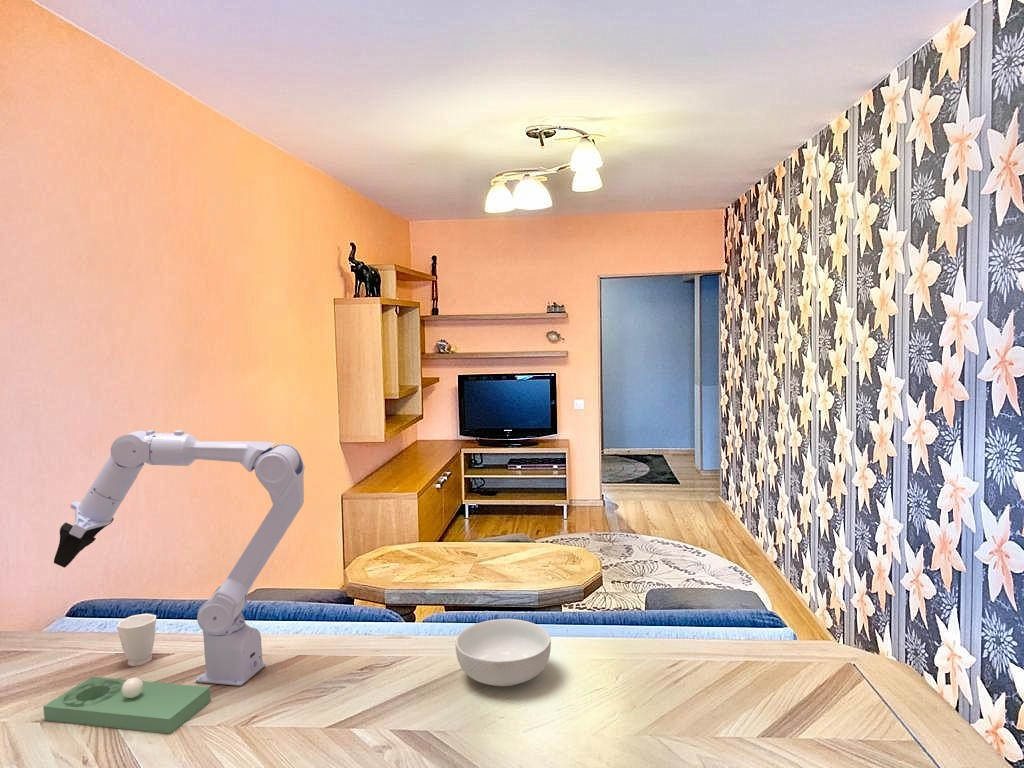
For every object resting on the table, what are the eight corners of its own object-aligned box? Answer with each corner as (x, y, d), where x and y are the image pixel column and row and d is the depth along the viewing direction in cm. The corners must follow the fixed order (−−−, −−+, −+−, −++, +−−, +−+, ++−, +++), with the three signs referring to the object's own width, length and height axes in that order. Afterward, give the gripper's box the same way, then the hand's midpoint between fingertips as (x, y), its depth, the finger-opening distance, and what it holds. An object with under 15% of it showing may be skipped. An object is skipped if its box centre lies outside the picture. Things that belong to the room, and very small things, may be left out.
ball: (148, 692, 119) (146, 674, 118) (134, 702, 115) (132, 684, 115) (132, 691, 119) (130, 673, 119) (117, 701, 116) (116, 682, 116)
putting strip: (210, 700, 120) (209, 687, 120) (170, 733, 110) (169, 719, 110) (93, 689, 125) (91, 676, 125) (44, 720, 116) (43, 706, 115)
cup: (125, 673, 131) (121, 631, 131) (110, 656, 138) (107, 616, 138) (165, 660, 136) (162, 619, 135) (149, 644, 143) (146, 606, 143)
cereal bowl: (440, 691, 120) (438, 651, 120) (480, 649, 136) (479, 613, 135) (532, 708, 114) (531, 666, 114) (563, 662, 129) (562, 625, 129)
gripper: (99, 469, 131) (62, 531, 131) (70, 493, 117) (27, 562, 117) (136, 487, 133) (98, 548, 133) (111, 512, 119) (69, 580, 119)
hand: (68, 555), depth 125 cm, fingers open, 7 cm apart
